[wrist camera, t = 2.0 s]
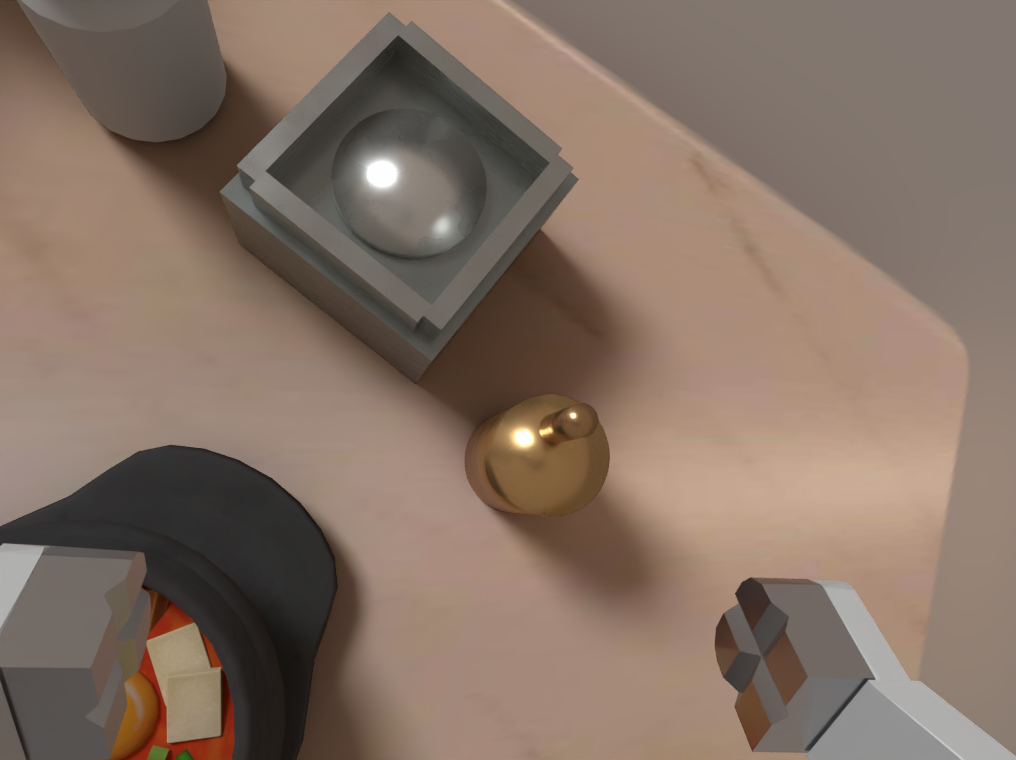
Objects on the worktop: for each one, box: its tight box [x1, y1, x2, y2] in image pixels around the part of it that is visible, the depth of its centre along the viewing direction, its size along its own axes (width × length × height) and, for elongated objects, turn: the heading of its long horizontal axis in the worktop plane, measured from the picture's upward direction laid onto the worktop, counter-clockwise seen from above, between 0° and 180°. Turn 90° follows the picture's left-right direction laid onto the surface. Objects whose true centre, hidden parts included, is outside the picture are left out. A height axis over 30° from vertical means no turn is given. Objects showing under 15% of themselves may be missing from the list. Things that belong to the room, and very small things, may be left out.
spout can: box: [465, 394, 610, 516], centre depth 35 cm, size 6×6×12 cm
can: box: [17, 0, 227, 142], centre depth 33 cm, size 8×8×12 cm
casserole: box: [0, 445, 337, 760], centre depth 30 cm, size 25×19×8 cm
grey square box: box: [220, 12, 579, 384], centre depth 37 cm, size 12×12×9 cm
